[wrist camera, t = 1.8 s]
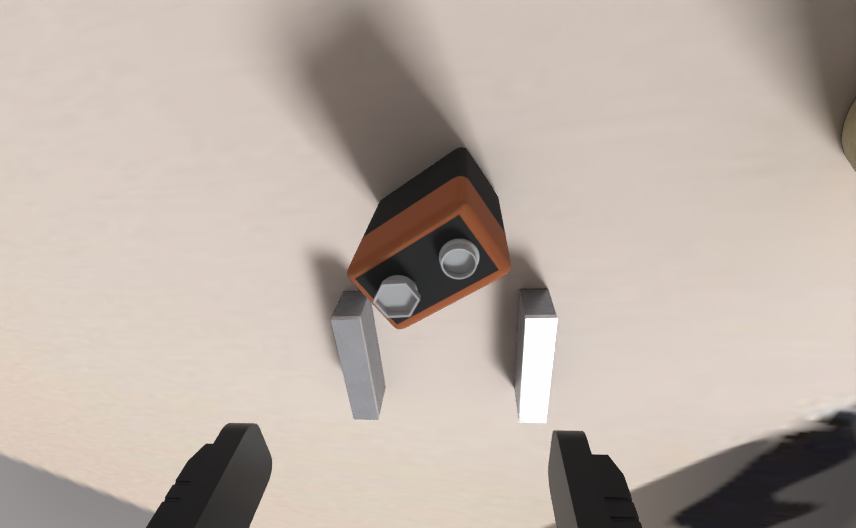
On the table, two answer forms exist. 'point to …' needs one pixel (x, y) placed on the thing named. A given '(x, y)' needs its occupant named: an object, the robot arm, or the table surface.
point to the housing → (366, 369)
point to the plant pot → (850, 136)
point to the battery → (432, 242)
